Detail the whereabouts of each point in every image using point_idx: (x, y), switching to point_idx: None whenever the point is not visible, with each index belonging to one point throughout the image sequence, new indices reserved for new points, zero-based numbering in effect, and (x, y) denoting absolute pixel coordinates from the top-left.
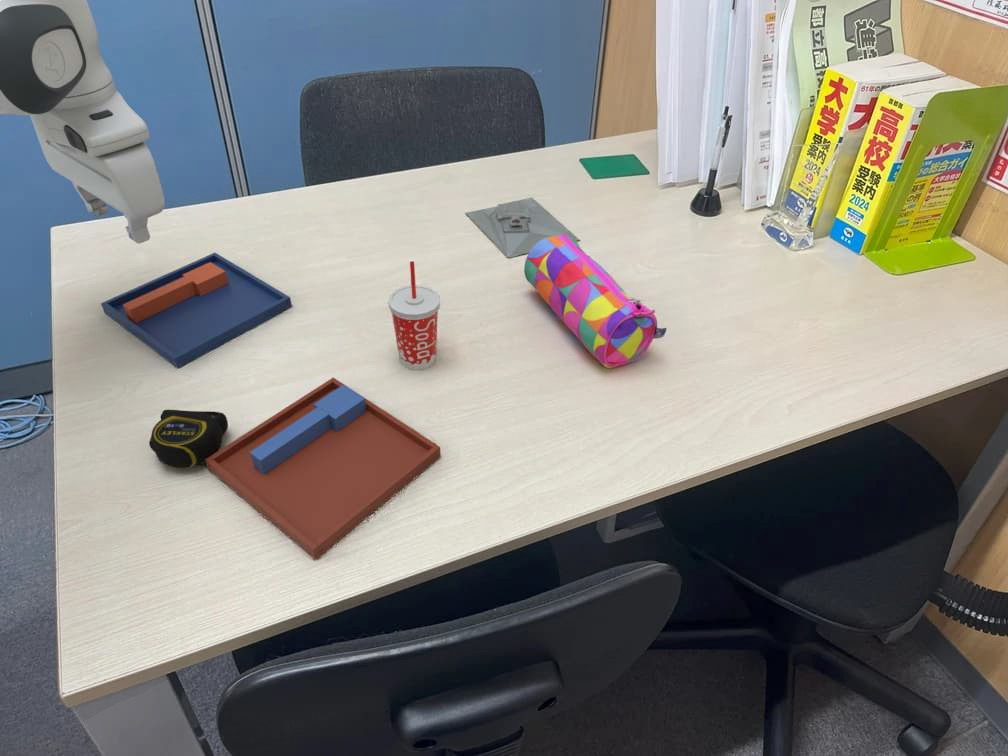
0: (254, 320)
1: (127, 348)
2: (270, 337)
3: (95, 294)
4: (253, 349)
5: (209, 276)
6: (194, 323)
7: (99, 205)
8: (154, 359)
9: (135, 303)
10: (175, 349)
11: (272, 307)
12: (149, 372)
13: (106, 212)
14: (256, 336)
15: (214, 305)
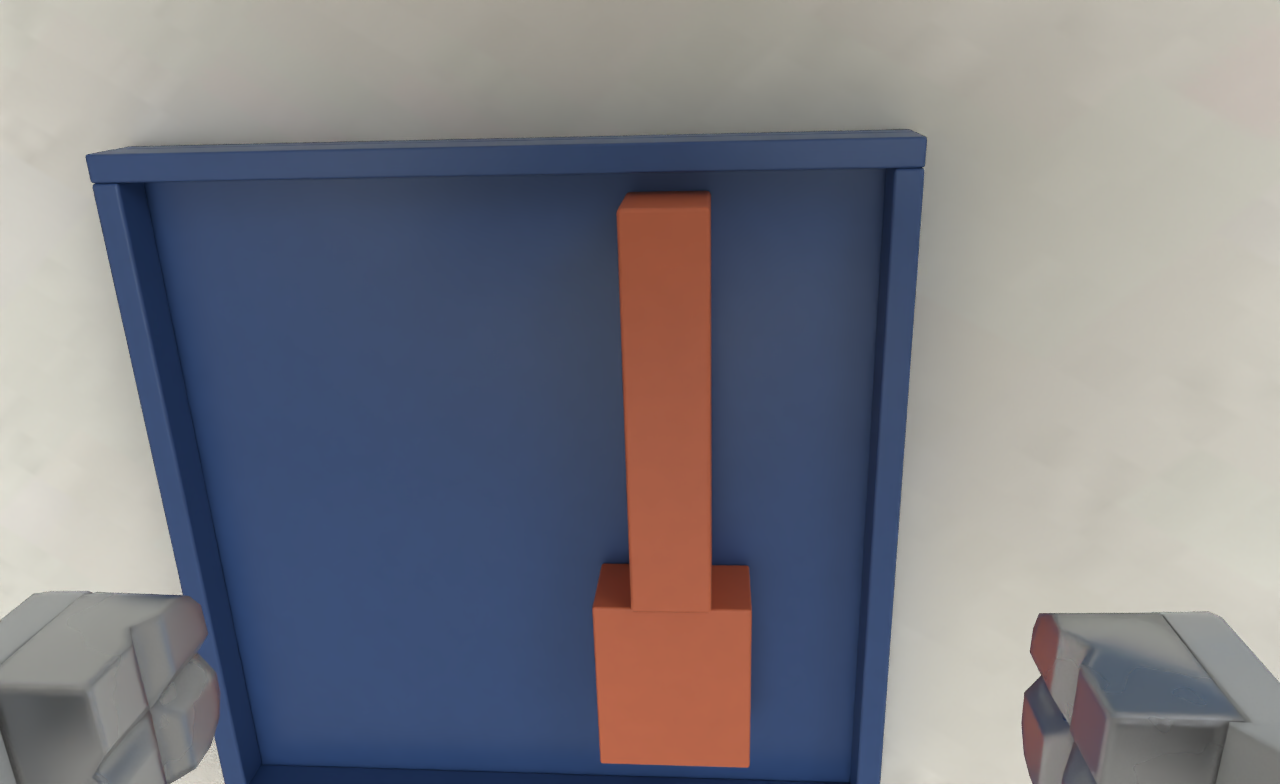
0: None
1: (480, 45)
2: (101, 577)
3: (1152, 192)
4: (60, 478)
5: (616, 688)
6: (399, 410)
7: (1075, 775)
8: (283, 101)
9: (661, 270)
10: (244, 218)
11: None
12: (190, 19)
13: (1024, 730)
14: (147, 543)
15: (478, 561)
